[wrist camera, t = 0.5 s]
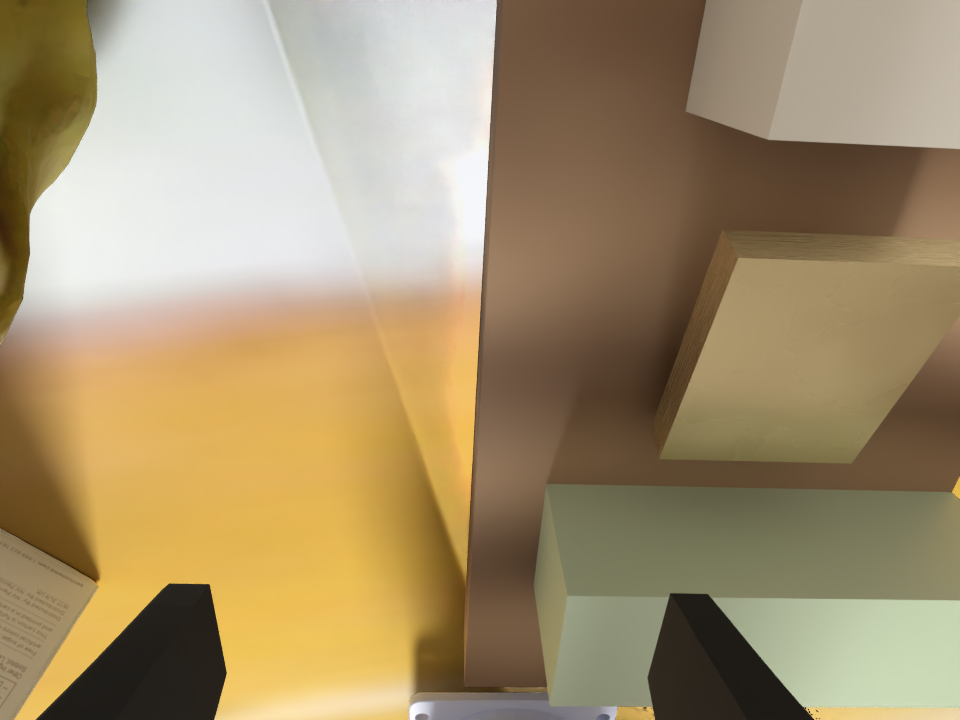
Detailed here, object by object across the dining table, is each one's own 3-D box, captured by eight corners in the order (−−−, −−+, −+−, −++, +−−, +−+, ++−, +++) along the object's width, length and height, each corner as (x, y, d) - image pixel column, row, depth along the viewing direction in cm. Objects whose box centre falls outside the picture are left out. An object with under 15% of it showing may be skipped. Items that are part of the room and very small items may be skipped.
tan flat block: (834, 433, 17) (851, 463, 16) (650, 428, 16) (658, 459, 16) (964, 239, 13) (995, 267, 12) (722, 229, 12) (738, 257, 12)
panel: (817, 630, 25) (878, 732, 21) (463, 626, 24) (464, 732, 20) (1144, -124, 14) (1394, -181, 10) (506, -169, 13) (523, -248, 9)
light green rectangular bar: (902, 589, 20) (996, 707, 17) (533, 584, 20) (549, 706, 16) (951, 492, 18) (1070, 601, 15) (546, 483, 18) (567, 595, 14)
